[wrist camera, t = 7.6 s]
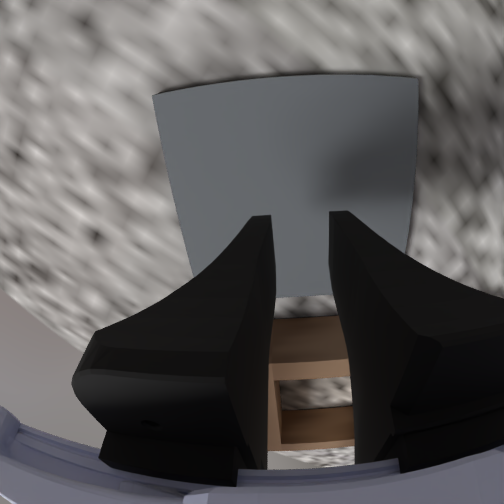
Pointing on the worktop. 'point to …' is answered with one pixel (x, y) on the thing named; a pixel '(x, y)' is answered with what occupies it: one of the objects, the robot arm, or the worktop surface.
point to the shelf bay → (307, 367)
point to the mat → (290, 164)
